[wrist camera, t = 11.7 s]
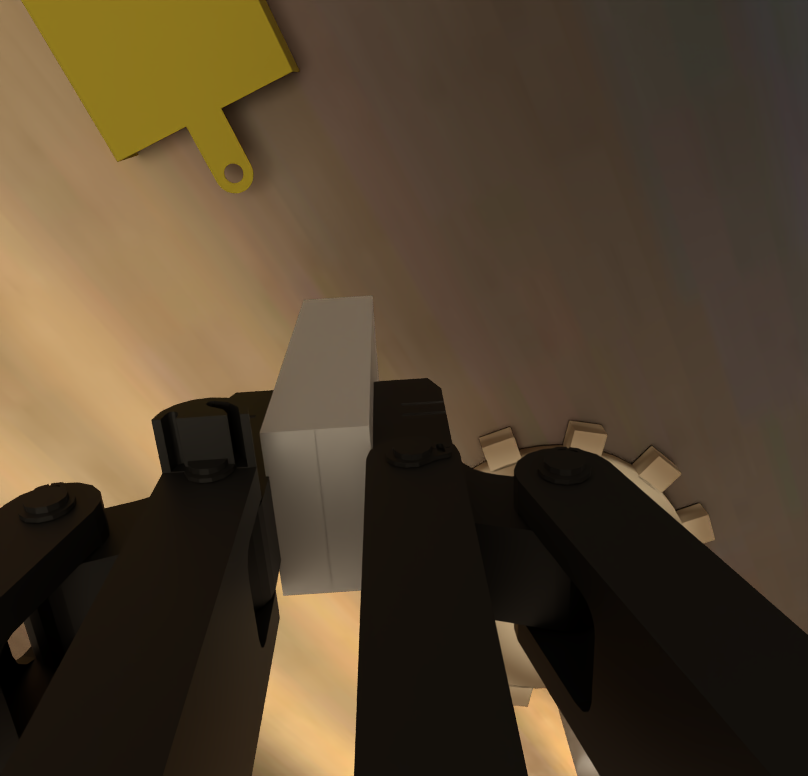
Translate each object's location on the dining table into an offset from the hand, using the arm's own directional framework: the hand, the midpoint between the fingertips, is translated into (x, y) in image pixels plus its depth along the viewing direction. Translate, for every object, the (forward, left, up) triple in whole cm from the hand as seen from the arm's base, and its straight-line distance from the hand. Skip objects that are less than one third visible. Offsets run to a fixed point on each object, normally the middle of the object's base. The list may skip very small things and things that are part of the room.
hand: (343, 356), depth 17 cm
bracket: (+9, -7, -30) cm, 32 cm away
